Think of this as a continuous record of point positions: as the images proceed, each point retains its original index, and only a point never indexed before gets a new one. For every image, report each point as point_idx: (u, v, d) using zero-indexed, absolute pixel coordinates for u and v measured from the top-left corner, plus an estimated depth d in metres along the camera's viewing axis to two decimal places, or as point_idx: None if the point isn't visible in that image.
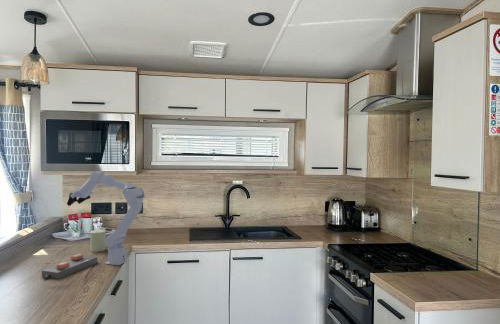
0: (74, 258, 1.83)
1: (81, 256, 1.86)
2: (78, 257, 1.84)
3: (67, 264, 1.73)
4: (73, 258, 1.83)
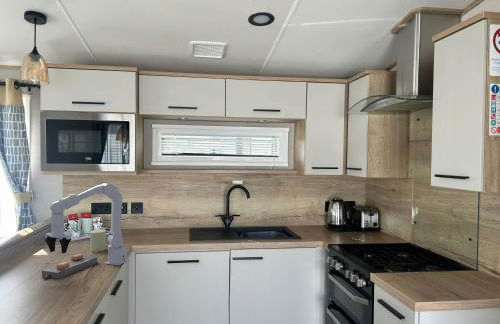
0: (74, 258, 1.83)
1: (81, 256, 1.86)
2: (78, 257, 1.84)
3: (67, 264, 1.73)
4: (73, 258, 1.83)
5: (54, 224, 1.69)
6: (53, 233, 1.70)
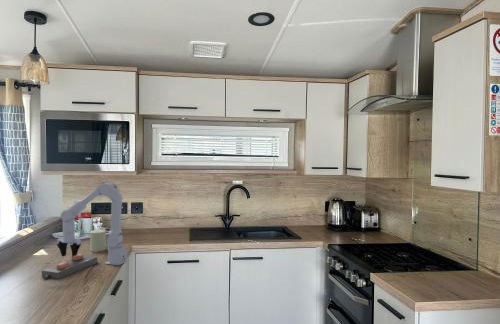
0: (74, 258, 1.83)
1: (81, 256, 1.86)
2: (78, 257, 1.84)
3: (67, 264, 1.73)
4: (73, 258, 1.83)
5: (63, 230, 1.85)
6: (64, 239, 1.84)
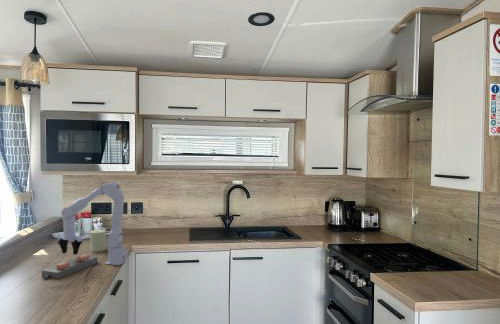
0: (80, 259, 1.82)
1: (87, 257, 1.85)
2: (84, 258, 1.83)
3: (67, 264, 1.73)
4: (79, 259, 1.82)
5: (64, 227, 1.84)
6: (65, 236, 1.84)
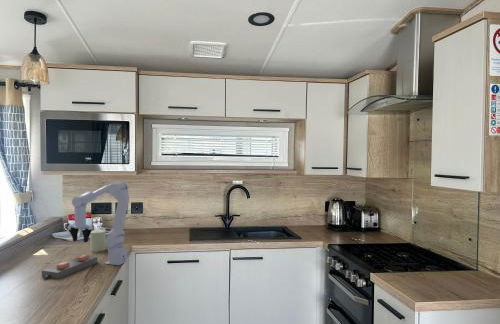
0: (80, 259, 1.82)
1: (87, 257, 1.85)
2: (84, 258, 1.83)
3: (67, 264, 1.73)
4: (79, 259, 1.82)
5: None
6: (76, 224, 1.91)
